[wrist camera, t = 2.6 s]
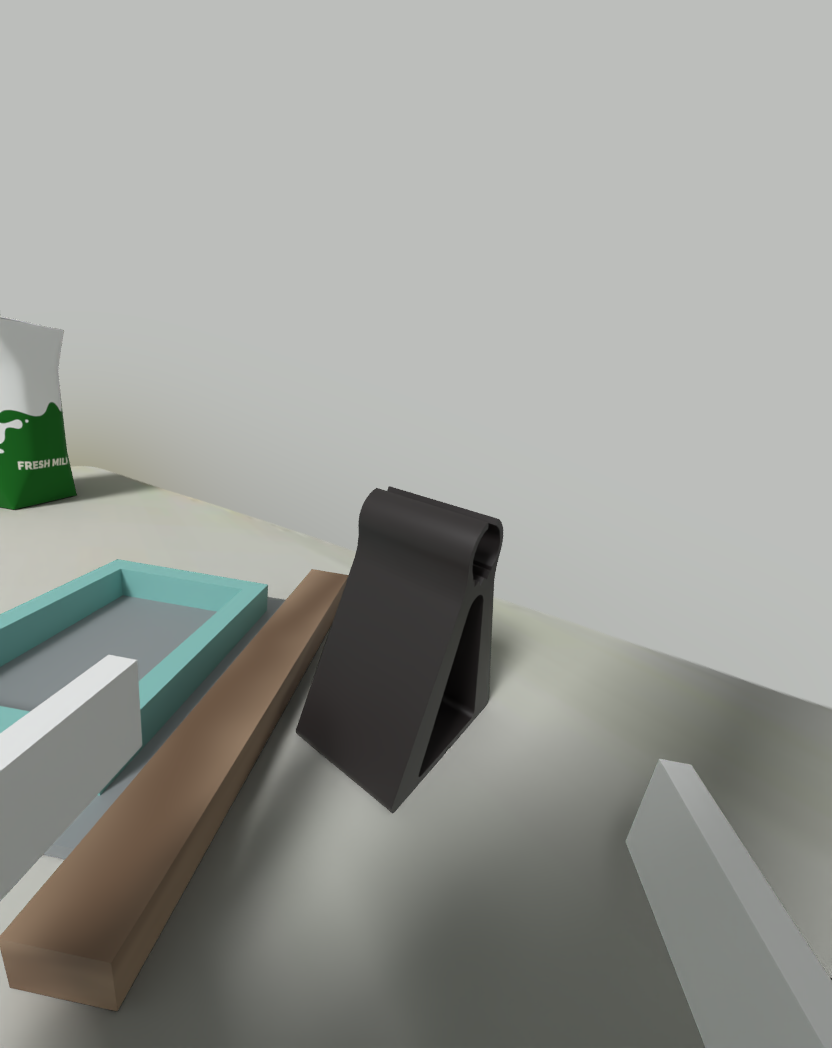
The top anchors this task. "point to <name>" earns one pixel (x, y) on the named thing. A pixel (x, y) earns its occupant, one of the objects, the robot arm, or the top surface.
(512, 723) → the top surface
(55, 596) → the cradle
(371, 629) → the phone stand
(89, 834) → the strip
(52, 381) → the milk carton
